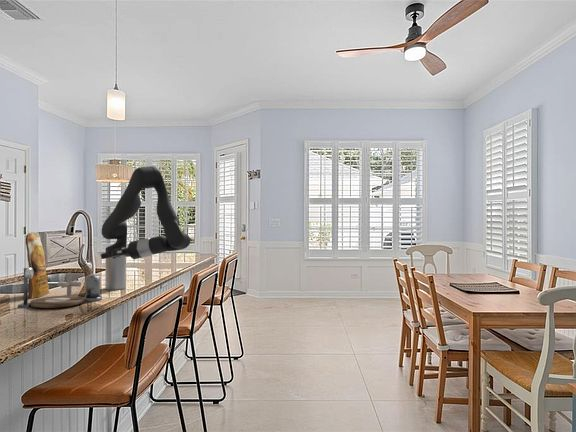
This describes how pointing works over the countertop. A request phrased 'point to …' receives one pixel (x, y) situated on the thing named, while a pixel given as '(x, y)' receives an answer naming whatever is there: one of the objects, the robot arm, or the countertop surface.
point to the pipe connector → (69, 284)
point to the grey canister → (92, 288)
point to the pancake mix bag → (36, 266)
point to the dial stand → (26, 287)
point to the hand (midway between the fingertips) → (107, 256)
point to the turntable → (56, 301)
